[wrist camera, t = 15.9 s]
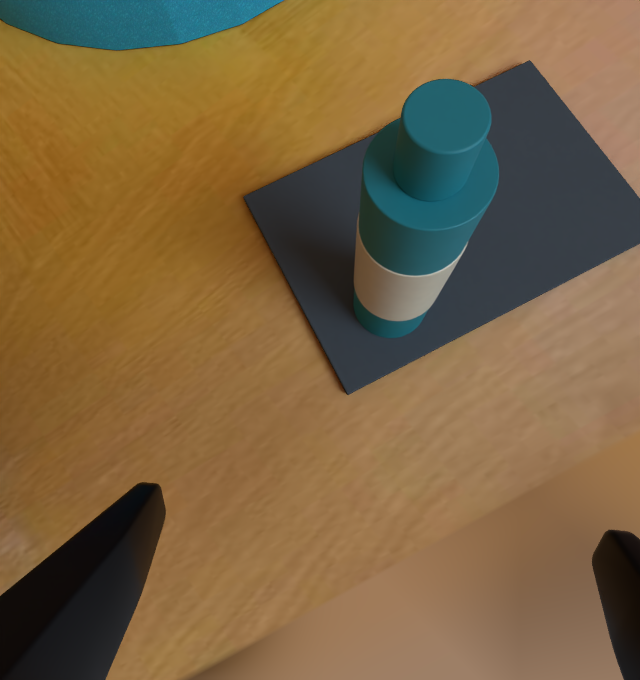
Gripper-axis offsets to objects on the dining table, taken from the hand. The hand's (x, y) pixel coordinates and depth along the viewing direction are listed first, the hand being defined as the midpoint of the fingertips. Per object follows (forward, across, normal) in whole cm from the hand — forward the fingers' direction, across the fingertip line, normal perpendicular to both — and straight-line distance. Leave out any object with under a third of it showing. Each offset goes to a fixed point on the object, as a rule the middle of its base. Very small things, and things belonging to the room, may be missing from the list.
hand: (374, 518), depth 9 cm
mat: (+18, -4, -1) cm, 19 cm away
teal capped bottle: (+14, -1, +2) cm, 15 cm away
